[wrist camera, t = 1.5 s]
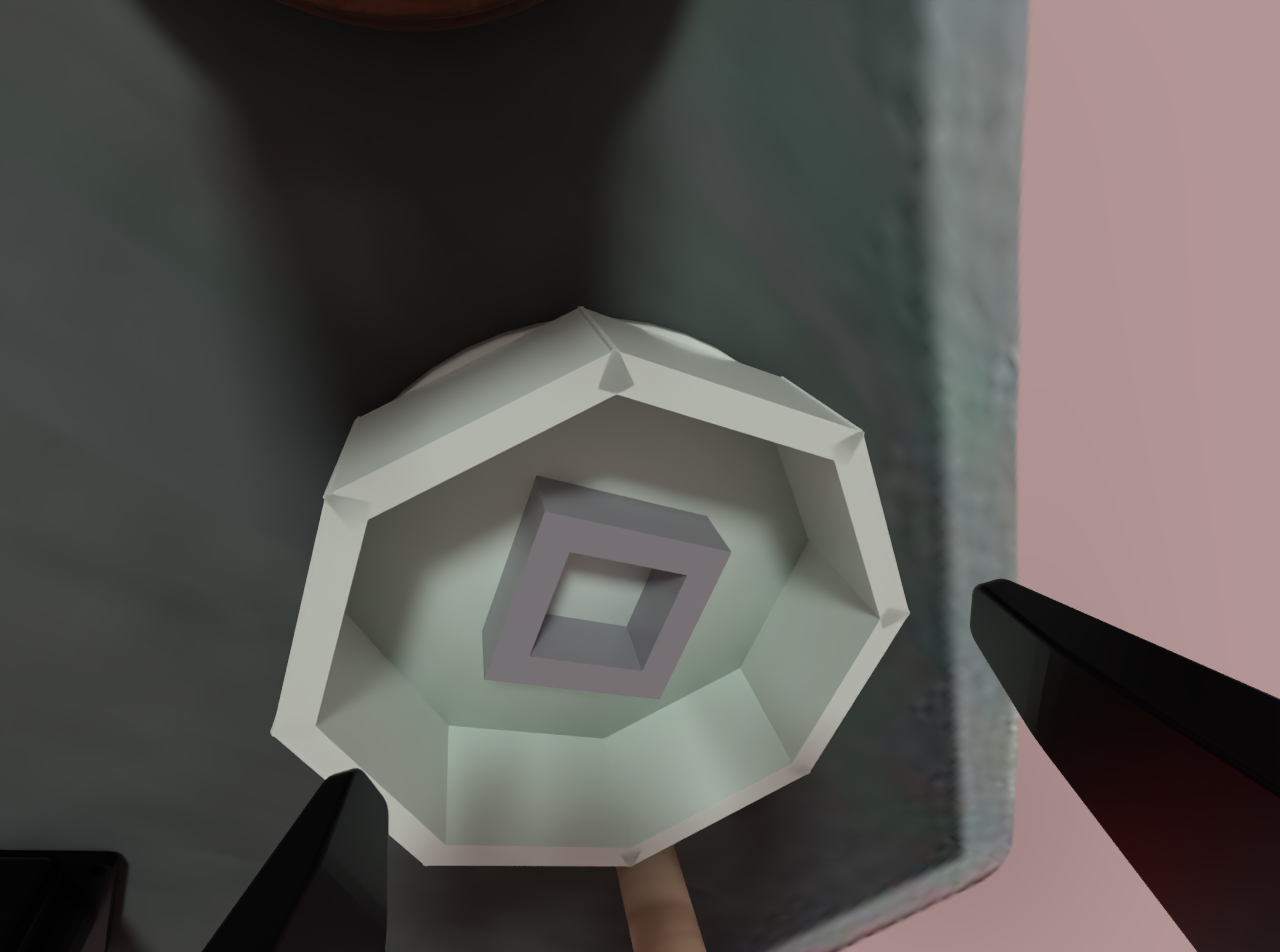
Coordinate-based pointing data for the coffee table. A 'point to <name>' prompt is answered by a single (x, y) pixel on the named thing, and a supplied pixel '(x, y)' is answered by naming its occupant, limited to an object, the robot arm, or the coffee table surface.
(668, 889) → the beige rounded cylinder
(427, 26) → the scroll
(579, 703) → the octagonal white bin
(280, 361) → the coffee table surface
